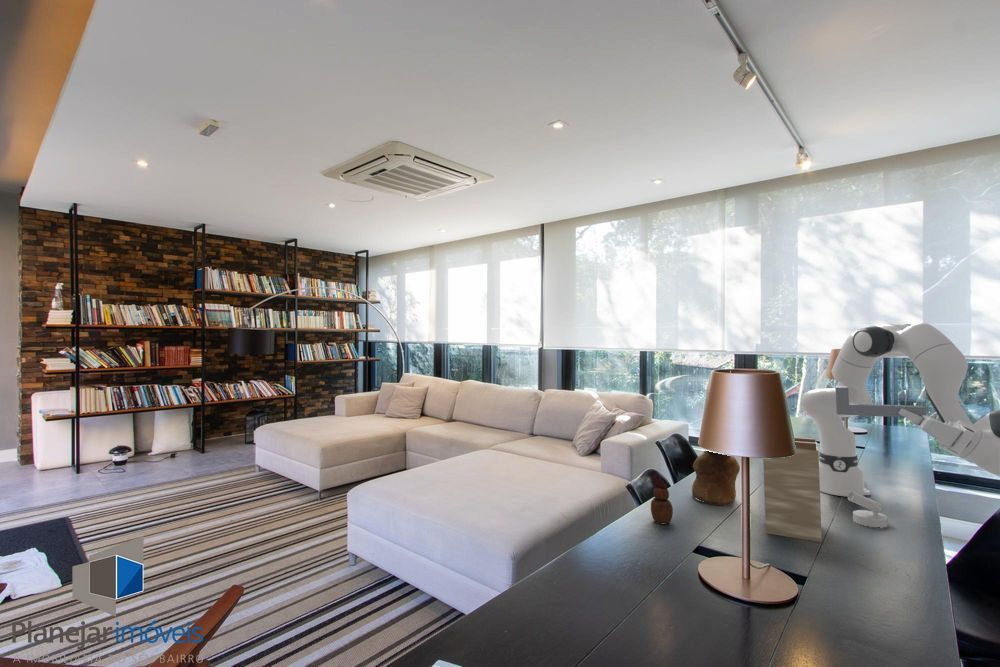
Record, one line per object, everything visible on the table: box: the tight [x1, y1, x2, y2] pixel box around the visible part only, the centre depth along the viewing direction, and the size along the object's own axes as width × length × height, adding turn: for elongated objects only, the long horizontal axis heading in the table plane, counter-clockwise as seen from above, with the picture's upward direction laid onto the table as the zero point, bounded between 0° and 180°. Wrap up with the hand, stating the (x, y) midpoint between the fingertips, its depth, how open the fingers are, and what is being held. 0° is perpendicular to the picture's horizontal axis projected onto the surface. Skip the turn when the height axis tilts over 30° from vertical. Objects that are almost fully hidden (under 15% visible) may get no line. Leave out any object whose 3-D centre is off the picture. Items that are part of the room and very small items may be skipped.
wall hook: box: [847, 492, 889, 529], centre depth 149 cm, size 9×10×10 cm
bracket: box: [834, 385, 927, 418], centre depth 136 cm, size 3×20×8 cm, turn 58°
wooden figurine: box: [650, 474, 674, 524], centre depth 153 cm, size 7×6×15 cm
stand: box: [762, 436, 823, 543], centre depth 146 cm, size 14×14×28 cm
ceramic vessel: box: [691, 450, 741, 506], centre depth 171 cm, size 16×22×30 cm
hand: (897, 409), depth 134 cm, fingers closed on bracket, 3 cm apart
